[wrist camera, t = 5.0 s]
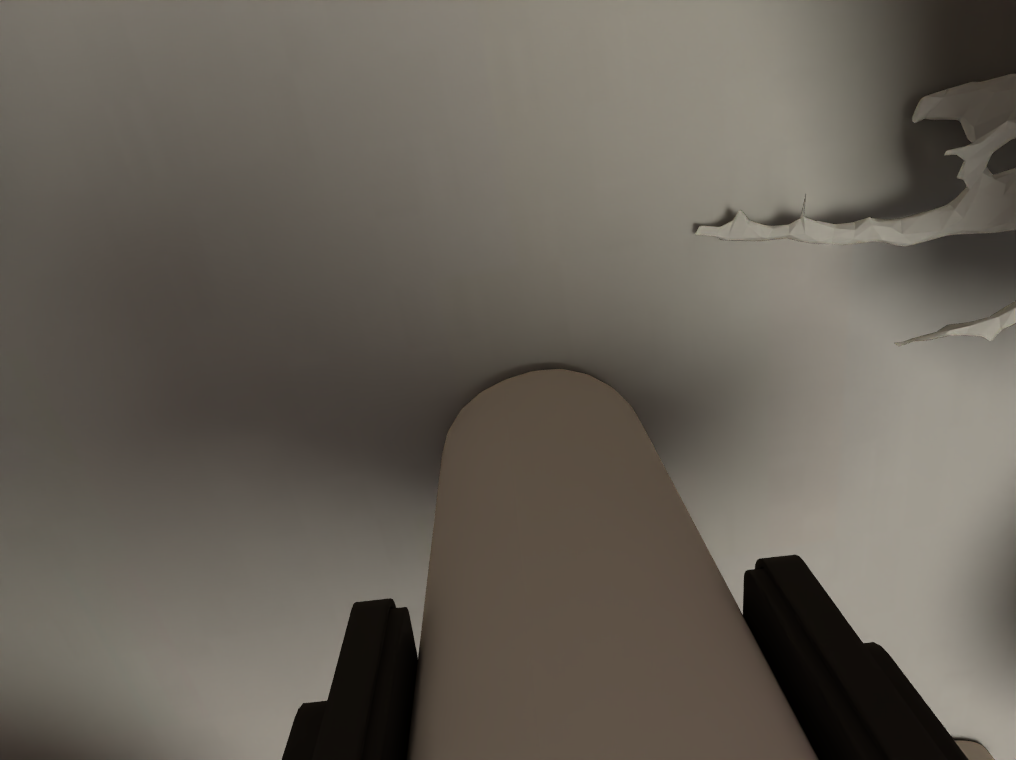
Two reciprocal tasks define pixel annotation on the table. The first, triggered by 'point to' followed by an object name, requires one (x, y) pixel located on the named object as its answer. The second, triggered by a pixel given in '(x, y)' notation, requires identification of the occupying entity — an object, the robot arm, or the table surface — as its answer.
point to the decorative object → (978, 209)
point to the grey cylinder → (580, 597)
